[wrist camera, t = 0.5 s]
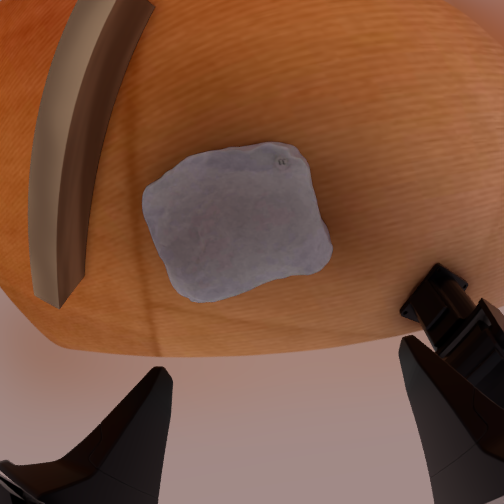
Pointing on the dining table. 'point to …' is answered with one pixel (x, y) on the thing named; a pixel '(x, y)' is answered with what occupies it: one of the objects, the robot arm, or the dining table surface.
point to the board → (75, 137)
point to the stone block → (236, 220)
